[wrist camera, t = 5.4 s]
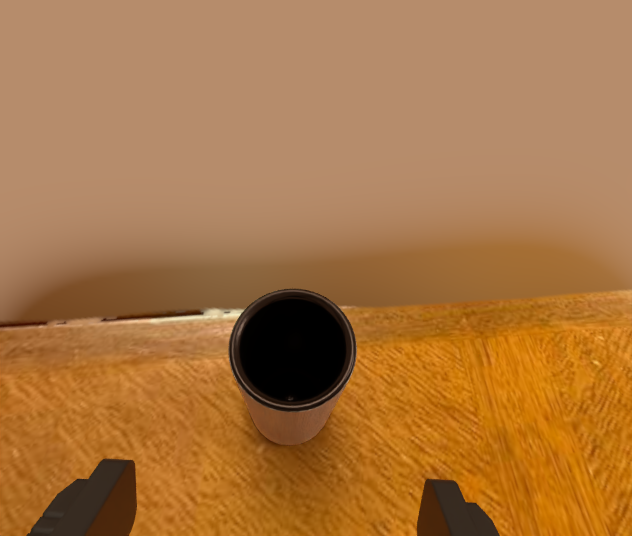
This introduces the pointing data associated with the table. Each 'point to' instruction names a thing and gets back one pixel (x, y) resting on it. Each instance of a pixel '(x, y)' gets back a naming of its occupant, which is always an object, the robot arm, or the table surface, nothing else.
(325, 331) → the planter
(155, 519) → the table surface
